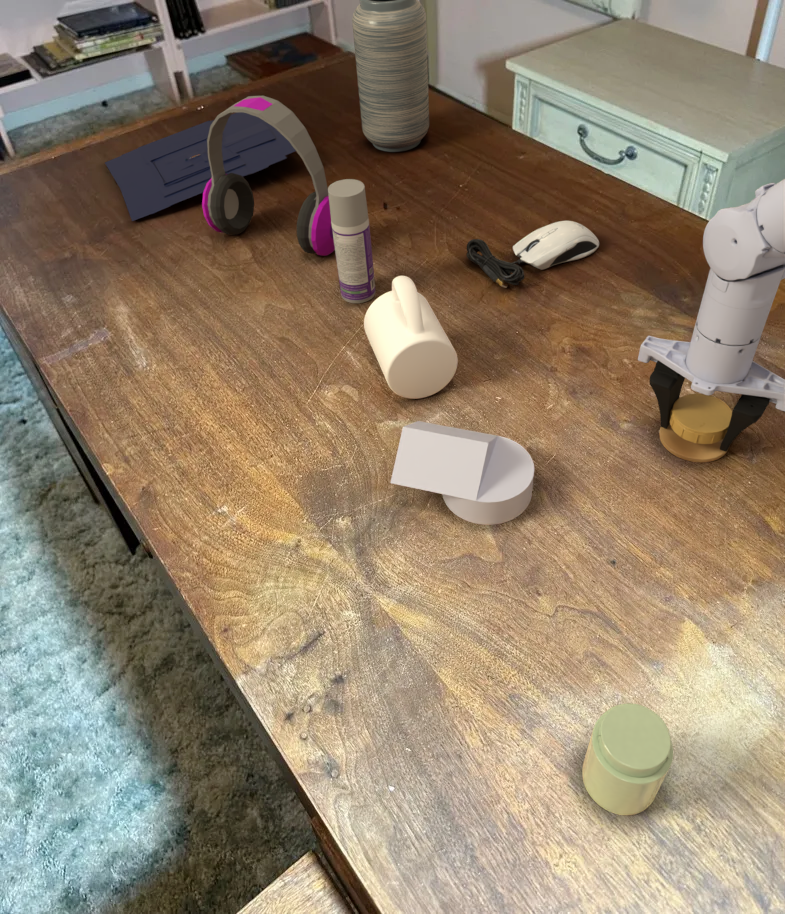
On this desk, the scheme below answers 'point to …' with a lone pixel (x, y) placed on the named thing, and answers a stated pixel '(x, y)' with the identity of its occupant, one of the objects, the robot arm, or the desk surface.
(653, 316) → the desk surface
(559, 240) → the computer mouse
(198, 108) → the desk surface
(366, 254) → the container
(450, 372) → the mug
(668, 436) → the tan round disc
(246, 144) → the dark blue flat panel
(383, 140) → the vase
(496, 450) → the wedge on round base
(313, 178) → the headphones
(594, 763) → the jar
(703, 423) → the lid
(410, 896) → the desk surface
